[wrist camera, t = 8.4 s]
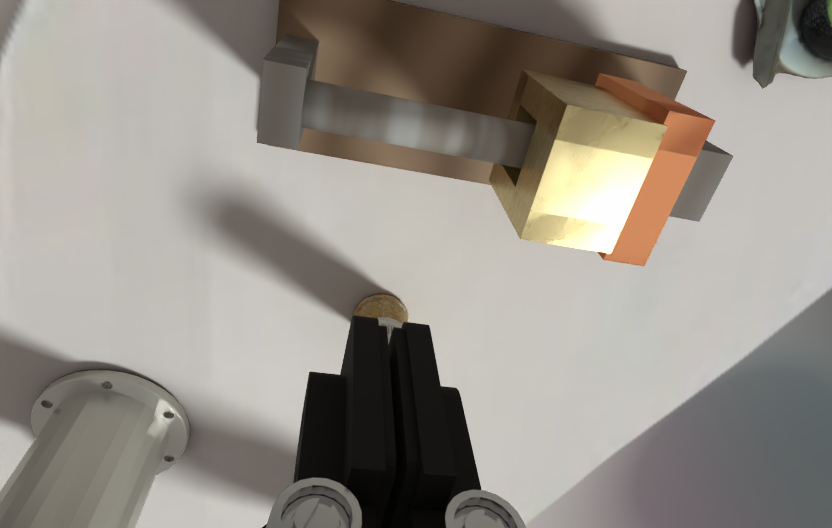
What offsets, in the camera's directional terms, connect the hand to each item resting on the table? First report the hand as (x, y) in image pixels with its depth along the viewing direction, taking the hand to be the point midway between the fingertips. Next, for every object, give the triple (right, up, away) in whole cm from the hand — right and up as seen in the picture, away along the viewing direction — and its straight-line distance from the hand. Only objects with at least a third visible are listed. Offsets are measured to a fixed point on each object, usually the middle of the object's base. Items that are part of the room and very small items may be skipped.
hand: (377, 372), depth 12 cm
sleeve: (+9, +10, +21) cm, 25 cm away
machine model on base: (+5, +13, +24) cm, 28 cm away
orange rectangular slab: (+12, +10, +22) cm, 27 cm away
